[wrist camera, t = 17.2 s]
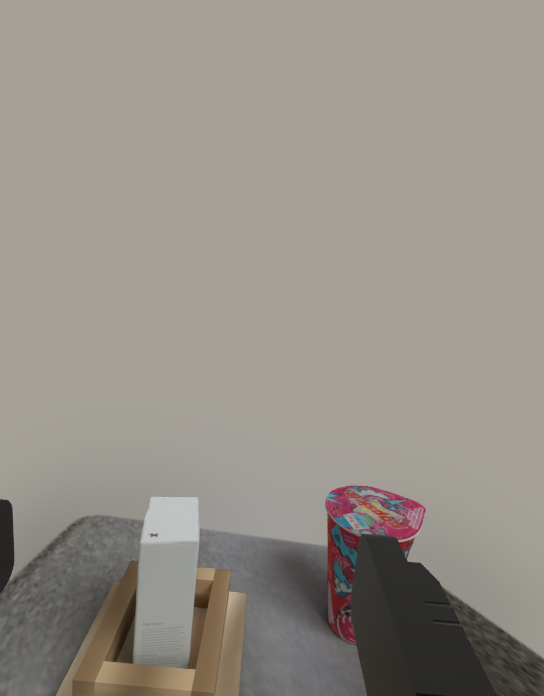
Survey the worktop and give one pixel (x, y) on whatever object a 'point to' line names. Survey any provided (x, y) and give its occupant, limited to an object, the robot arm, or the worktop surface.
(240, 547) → the worktop surface
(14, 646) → the worktop surface
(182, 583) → the skincare box
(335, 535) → the cup
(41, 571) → the worktop surface
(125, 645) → the socket holder
